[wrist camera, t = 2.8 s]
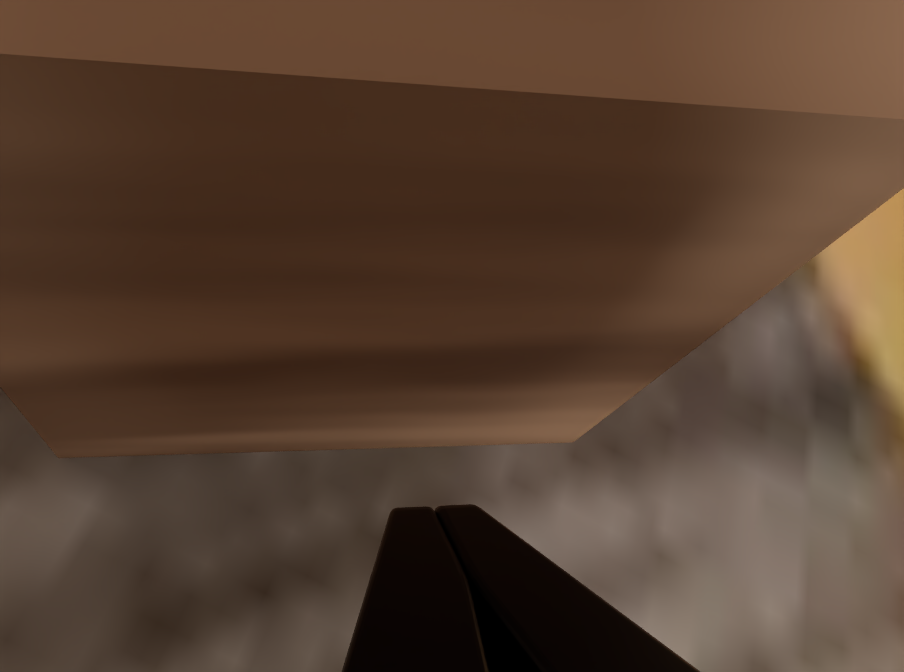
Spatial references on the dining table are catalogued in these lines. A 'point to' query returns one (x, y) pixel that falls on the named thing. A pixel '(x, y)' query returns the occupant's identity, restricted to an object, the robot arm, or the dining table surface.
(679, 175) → the walnut block
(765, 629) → the dining table surface
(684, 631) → the dining table surface
